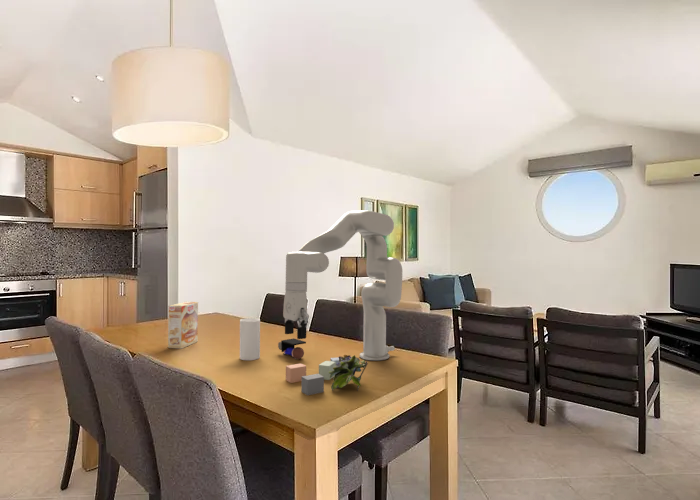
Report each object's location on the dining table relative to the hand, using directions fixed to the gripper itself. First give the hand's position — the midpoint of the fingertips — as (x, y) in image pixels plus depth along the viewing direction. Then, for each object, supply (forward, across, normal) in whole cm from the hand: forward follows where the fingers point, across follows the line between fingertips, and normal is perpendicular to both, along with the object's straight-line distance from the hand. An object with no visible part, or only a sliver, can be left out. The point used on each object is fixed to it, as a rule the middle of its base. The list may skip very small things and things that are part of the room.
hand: (295, 336), depth 149 cm
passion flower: (+16, +16, +12) cm, 26 cm away
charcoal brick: (+16, +14, 0) cm, 21 cm away
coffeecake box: (+16, -76, -20) cm, 80 cm away
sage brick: (+15, +3, +12) cm, 19 cm away
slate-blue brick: (+15, 0, +19) cm, 24 cm away
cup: (+16, -37, -2) cm, 40 cm away
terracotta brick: (+16, 0, +1) cm, 16 cm away
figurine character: (+15, -30, +14) cm, 37 cm away
